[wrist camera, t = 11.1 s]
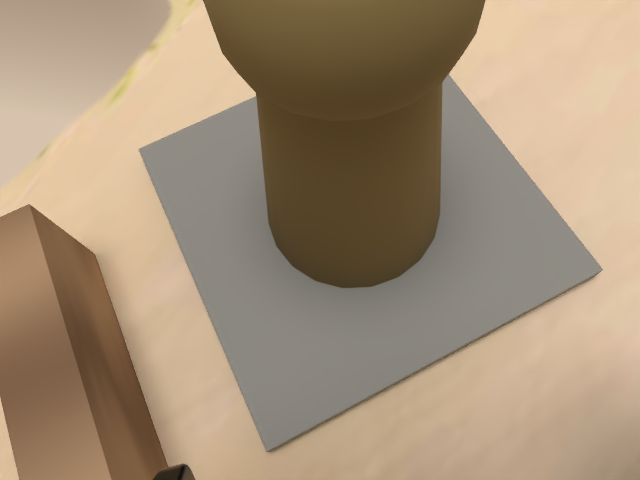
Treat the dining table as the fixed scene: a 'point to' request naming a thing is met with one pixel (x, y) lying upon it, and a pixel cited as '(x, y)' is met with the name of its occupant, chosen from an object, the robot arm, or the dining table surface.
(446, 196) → the grey mat
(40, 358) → the walnut divider
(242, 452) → the dining table surface
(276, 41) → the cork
